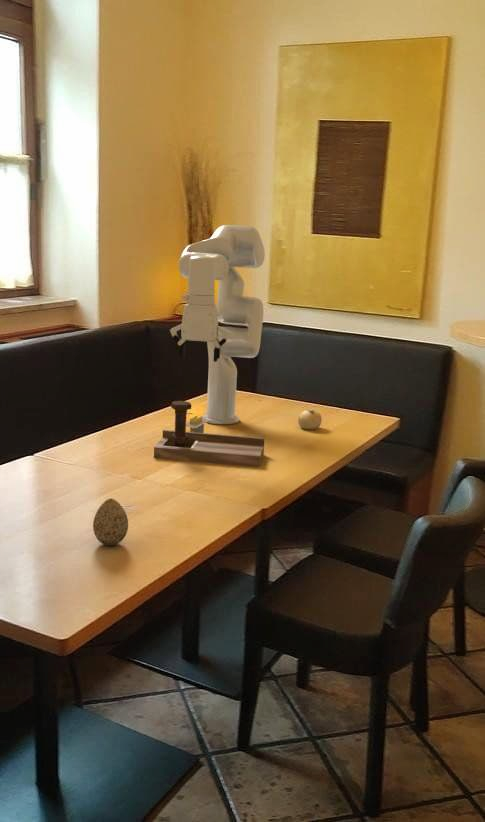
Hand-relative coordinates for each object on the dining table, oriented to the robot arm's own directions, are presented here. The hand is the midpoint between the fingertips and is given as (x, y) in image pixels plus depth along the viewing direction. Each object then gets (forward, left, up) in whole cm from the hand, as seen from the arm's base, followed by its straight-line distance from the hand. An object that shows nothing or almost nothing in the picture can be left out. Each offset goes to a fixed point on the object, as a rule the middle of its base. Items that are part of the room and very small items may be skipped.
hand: (199, 359), depth 234 cm
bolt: (+6, -4, -27) cm, 28 cm away
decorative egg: (+75, -5, -27) cm, 79 cm away
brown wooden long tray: (+7, +5, -27) cm, 28 cm away
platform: (-13, -2, -27) cm, 30 cm away
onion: (-34, +32, -27) cm, 54 cm away
